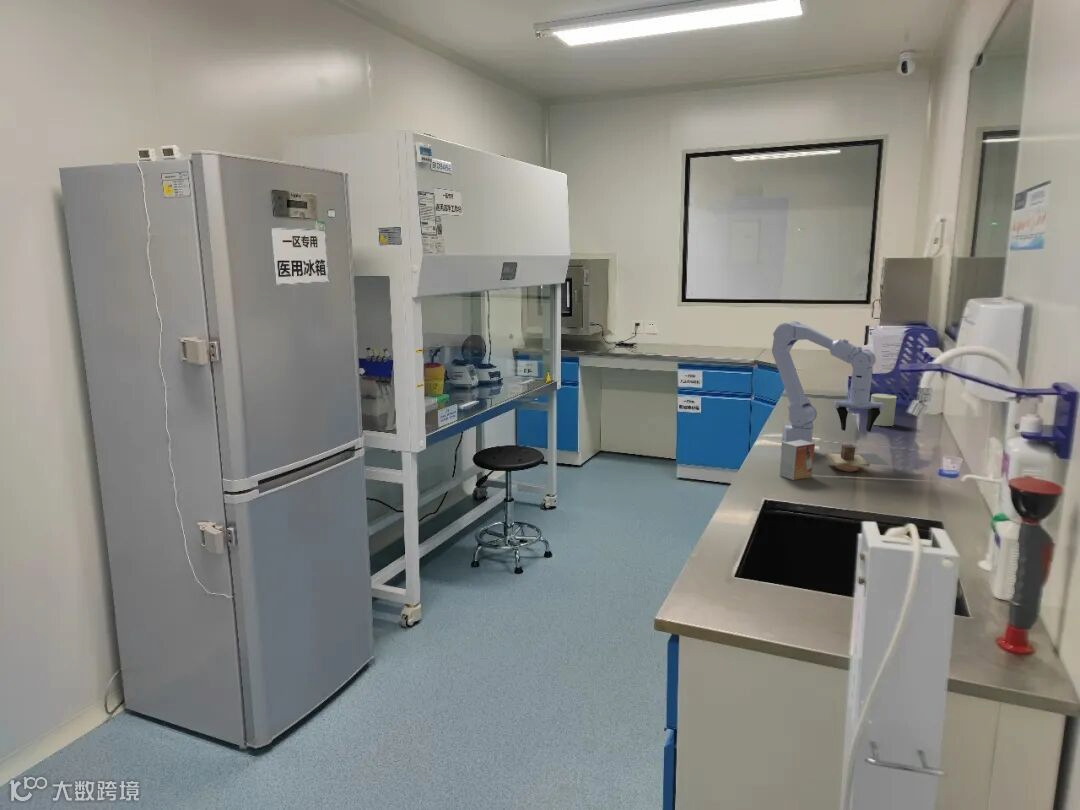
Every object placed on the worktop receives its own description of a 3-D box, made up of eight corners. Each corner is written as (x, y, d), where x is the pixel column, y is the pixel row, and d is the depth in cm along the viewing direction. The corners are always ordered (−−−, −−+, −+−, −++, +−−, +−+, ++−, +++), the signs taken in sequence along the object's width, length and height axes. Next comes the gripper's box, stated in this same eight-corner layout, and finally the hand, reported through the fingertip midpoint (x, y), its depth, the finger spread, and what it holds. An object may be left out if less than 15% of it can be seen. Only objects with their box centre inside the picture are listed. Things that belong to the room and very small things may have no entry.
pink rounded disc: (837, 473, 211) (838, 464, 210) (831, 466, 217) (832, 457, 217) (861, 474, 210) (863, 465, 209) (854, 467, 217) (855, 458, 216)
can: (899, 425, 272) (902, 396, 270) (881, 427, 269) (885, 397, 266) (879, 420, 281) (883, 391, 278) (862, 422, 277) (866, 393, 275)
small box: (793, 480, 204) (796, 446, 201) (778, 475, 208) (781, 441, 206) (812, 477, 207) (815, 443, 205) (797, 472, 212) (800, 438, 210)
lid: (834, 465, 209) (836, 449, 208) (825, 455, 219) (827, 441, 218) (869, 466, 208) (871, 451, 207) (858, 457, 218) (860, 442, 217)
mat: (842, 464, 220) (843, 462, 220) (831, 454, 232) (832, 452, 232) (889, 466, 219) (889, 464, 219) (875, 455, 230) (875, 454, 230)
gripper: (839, 390, 216) (835, 432, 219) (888, 392, 214) (883, 434, 217) (833, 386, 223) (829, 427, 226) (881, 387, 221) (876, 429, 224)
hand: (855, 430), depth 222 cm, fingers open, 7 cm apart
